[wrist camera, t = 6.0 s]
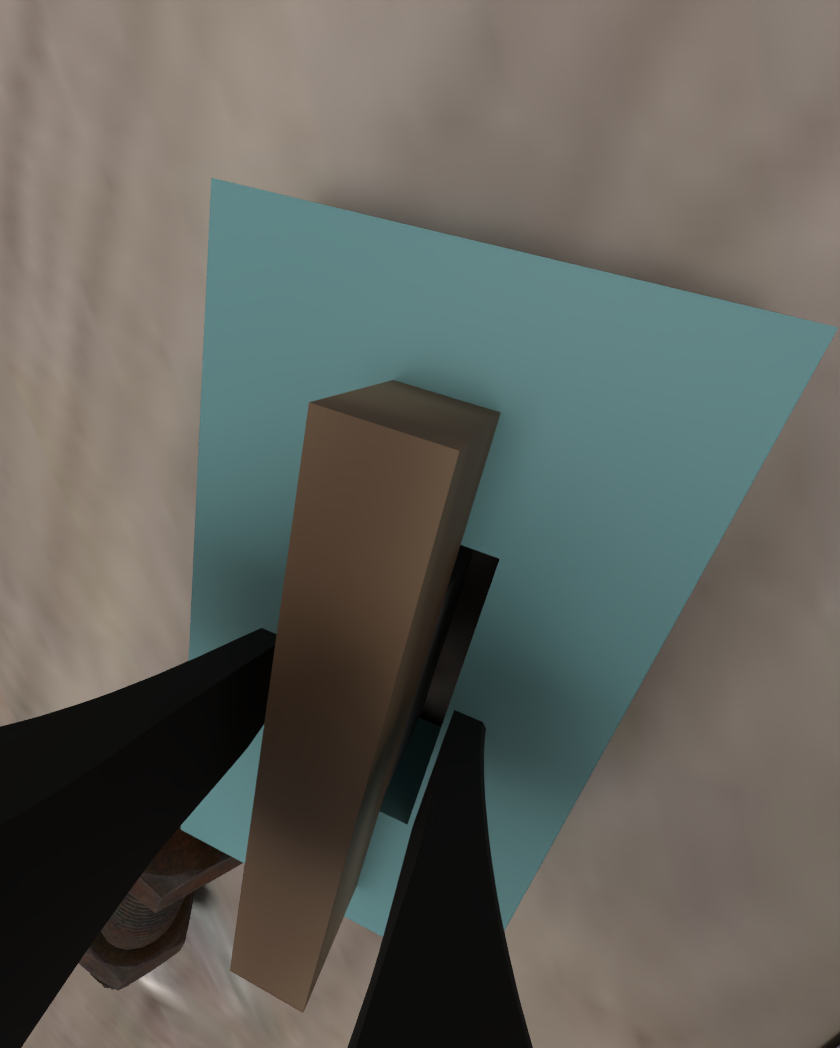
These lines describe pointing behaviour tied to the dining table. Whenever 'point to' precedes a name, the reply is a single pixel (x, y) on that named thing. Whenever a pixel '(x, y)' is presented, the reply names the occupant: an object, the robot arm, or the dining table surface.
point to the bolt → (155, 912)
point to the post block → (483, 480)
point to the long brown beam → (351, 657)
